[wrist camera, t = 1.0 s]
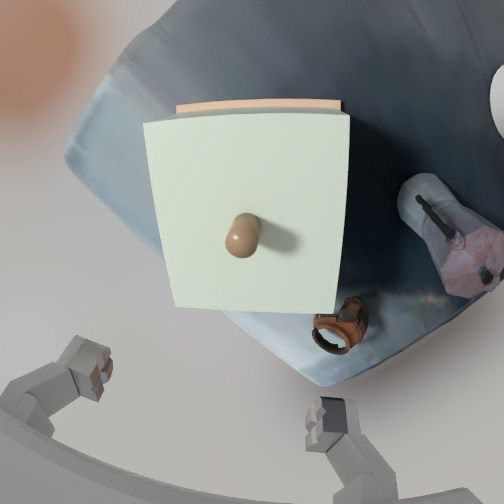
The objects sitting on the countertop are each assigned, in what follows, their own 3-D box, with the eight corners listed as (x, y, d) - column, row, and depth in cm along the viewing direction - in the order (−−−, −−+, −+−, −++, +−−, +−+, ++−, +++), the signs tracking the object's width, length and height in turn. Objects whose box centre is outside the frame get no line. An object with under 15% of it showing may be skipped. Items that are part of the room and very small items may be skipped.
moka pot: (432, 247, 45) (484, 331, 27) (363, 196, 42) (404, 274, 25) (467, 203, 40) (537, 272, 23) (400, 144, 38) (471, 191, 21)
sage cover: (333, 107, 36) (358, 119, 22) (326, 260, 48) (335, 336, 33) (183, 111, 39) (123, 129, 25) (200, 257, 50) (165, 327, 36)
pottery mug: (364, 332, 55) (347, 365, 50) (322, 311, 59) (301, 341, 54) (385, 291, 47) (369, 328, 42) (335, 268, 51) (313, 300, 46)
